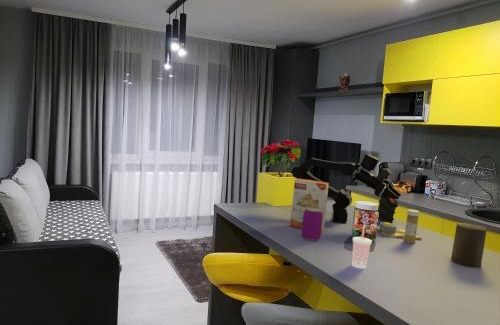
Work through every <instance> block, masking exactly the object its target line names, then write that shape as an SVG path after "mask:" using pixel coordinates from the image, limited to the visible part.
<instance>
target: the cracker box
mask: <svg viewBox="0 0 500 325" xmlns="http://www.w3.org/2000/svg"><path fill="white" fill-rule="evenodd" d="M293 184H294V186H293V194H292V202H291V203H292V204H291V212H290V213H291V214H290V222H289V226H290V227H293V228H294V227H295V228H299V229H302V223H303V214H304V211H305V209H306V208H307V207H314V208H319V209H321V210H322V214H323V221H322V231H323V230H324V228H325V220H326V213H327V212H326V211H327V205H328V204H327V202H328V186H330V185H329V184H330V183H329V182H325V181H323V182H318V181H312V180H305V179H297V178H295V180H294V183H293Z"/></svg>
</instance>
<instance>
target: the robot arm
mask: <svg viewBox="0 0 500 325" xmlns="http://www.w3.org/2000/svg"><path fill="white" fill-rule="evenodd" d="M363 156H364V157H363V158H362V161H361V162H360V163H355V162H337V161H335V162H334V161H332V160H331V161H329V160H323V159H320V158H315V157H311V158H309V159H308V160H306V161H305V162H303V163H301V164H300V165H298V166H295V167H293V168H292V169H291V176H292V177H293V178H294V179H305V180H312V181H318V182H324V181H323V180H321V179H319V178H318V177H316V176H314V175H313V174H312V173H311V172H310V171H311V169H312V168H314V167H315V168H319V169H320V168H321V169H326V170H330V171H331V170H333V171H336V172H338V173H340V174H343V175H346V176H349V177H350V176H352V177H351V180H352V184H355V183H356V182H357V181H358V182H360V183H361V184H364V185H365V186H366V187H367V188H370V189H372V190H374V192H373V194H374V195H375V196H376V197H380V198H381V197H384V198H391V199H395V200H399V199H400V197H401V196H402V194H401V193H400V192H399V191H398V190H396V189H395V187H393V184H392V181H391V180H389V179H387V177H388V176H390V175H391V174H392V172H391V170H390V169H389V168H388V167H387V168H382V169H381V170H380V172H379V174H373V173H370V172H371V171H372V172H374V171H375V169H376V168H377V165H378V164H379V162H380V159H379V158H377V157H376V156H373V155H370V154H368V153H365V154H364V155H363ZM358 170H359V171H358ZM353 175H354V176H353ZM328 196H329V197H330V198H331V199H332V200H333V202H334V203H333V204H332V206H331V207H332V211H331V212H332V214H331V218H330V221H331V222H332V223H335V224H336V223H337V224H347V222H348V215H349V214H348V207H349V206H350V205H351V204H352V203H353V197H352V196H351V195H350V192H347V191H345V189H343V188H342V189H340V190H337V189H335V188H334V187H332V186H330V185H329V186H328V195H327V197H328Z"/></svg>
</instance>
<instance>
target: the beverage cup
mask: <svg viewBox="0 0 500 325" xmlns="http://www.w3.org/2000/svg"><path fill="white" fill-rule="evenodd" d="M365 227H366V225H365V224H363V225H362V233H361V236H353V237H352V255H351V257H352V260H351V265H352V267H354V268H357V269H366V268H367V265H368V261H369V260H368V259H369V254H370V250H371V245H372V243H373V240H372V239H370V238H367V237H364V236H365Z"/></svg>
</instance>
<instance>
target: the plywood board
mask: <svg viewBox="0 0 500 325" xmlns="http://www.w3.org/2000/svg"><path fill="white" fill-rule="evenodd" d="M379 228H380V226H377V227H376V230H377V231H378V232H379V233H380V235H382V236H383V237H384V238H385V237H386V238H394V239H404V237H405V229H401V228H396V233H395V234H391V233H384V232H382V231H381V230H380V229H379ZM422 240H423V237H422V236H420V235H418V234H417V233H416V238H415V241H422Z"/></svg>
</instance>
